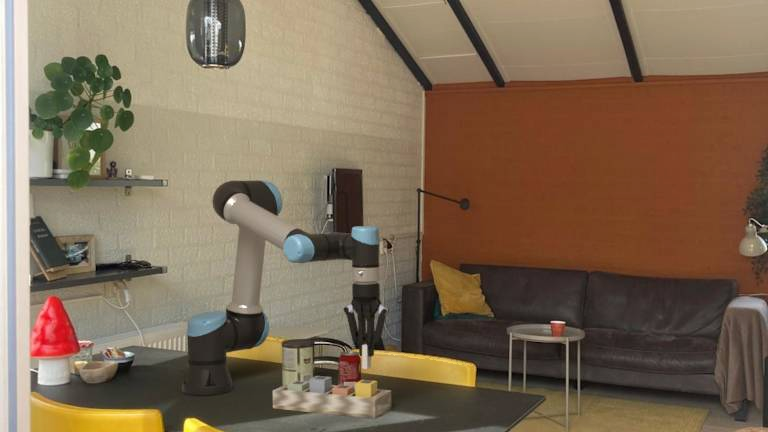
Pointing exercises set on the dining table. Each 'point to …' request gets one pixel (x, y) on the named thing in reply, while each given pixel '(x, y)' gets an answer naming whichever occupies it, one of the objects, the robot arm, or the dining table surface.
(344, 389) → the terracotta key
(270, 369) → the dining table surface
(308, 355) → the coffee can
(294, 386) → the sage key
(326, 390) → the slate key
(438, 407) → the dining table surface
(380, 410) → the wooden tray
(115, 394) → the dining table surface
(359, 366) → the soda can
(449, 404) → the dining table surface
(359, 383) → the mustard key
